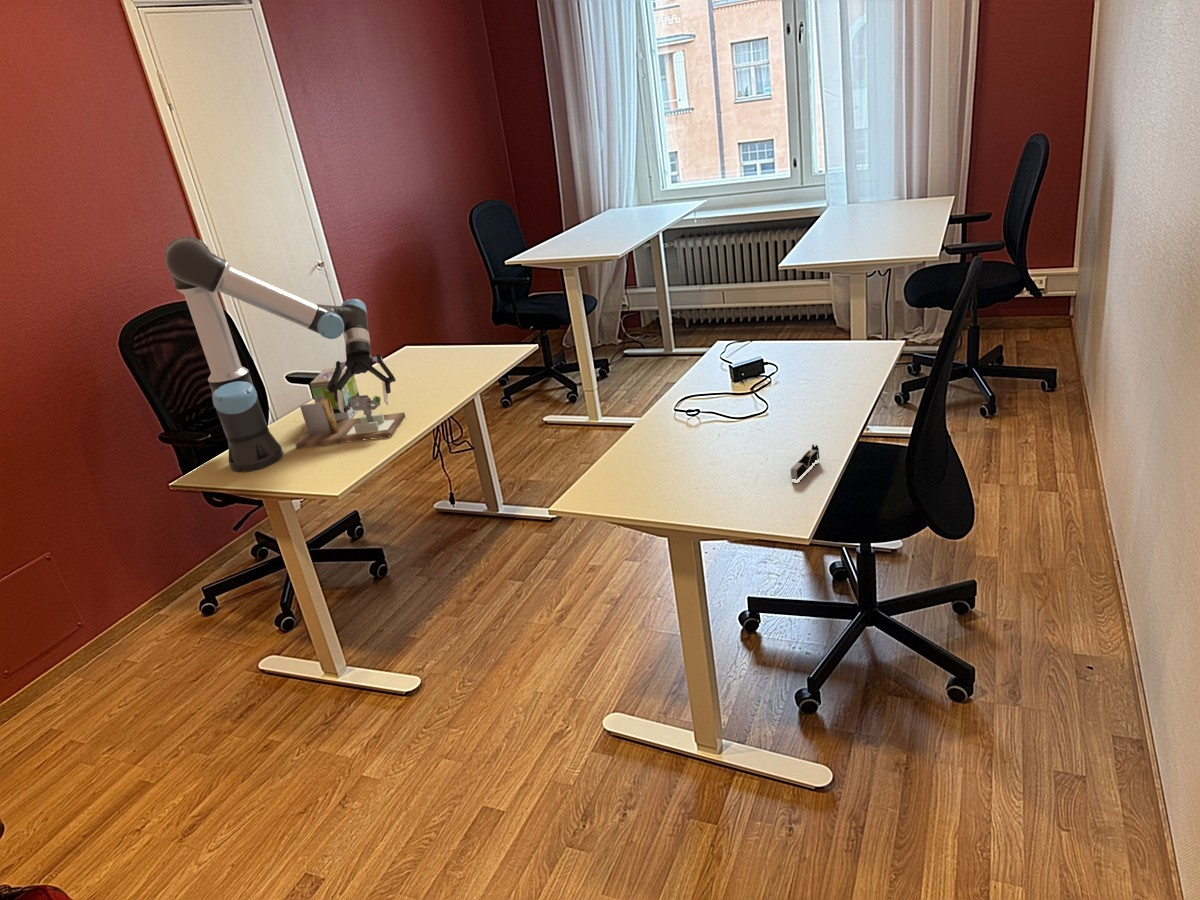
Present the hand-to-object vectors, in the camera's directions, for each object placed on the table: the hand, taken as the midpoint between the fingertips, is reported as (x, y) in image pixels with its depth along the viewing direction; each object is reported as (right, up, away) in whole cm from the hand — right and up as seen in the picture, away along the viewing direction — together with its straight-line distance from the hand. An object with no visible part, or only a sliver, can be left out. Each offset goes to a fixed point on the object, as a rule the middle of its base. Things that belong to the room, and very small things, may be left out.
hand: (363, 406), depth 242 cm
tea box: (-14, -2, +25) cm, 29 cm away
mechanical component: (+1, -6, +5) cm, 8 cm away
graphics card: (+118, -18, -60) cm, 134 cm away
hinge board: (-6, -7, +8) cm, 13 cm away
